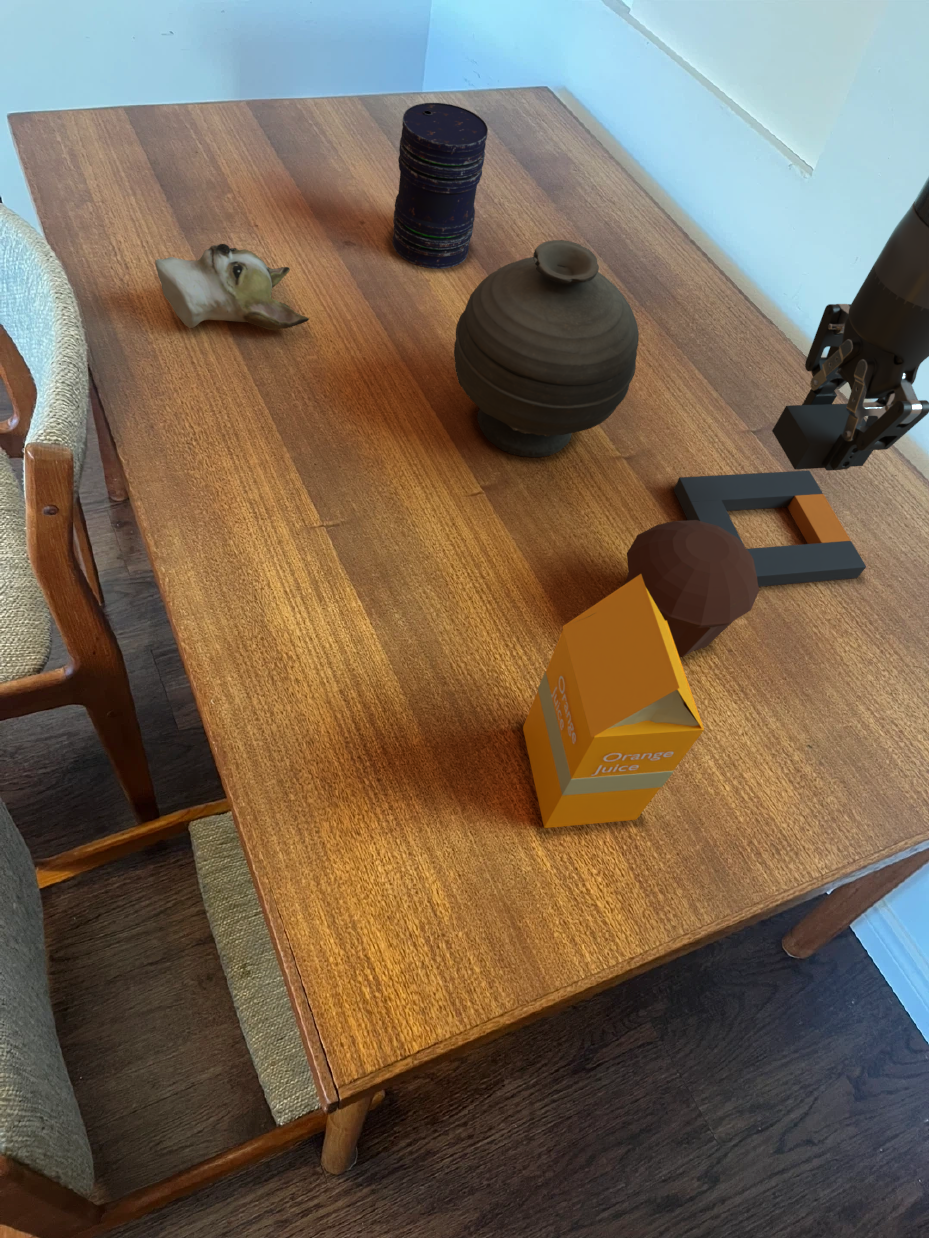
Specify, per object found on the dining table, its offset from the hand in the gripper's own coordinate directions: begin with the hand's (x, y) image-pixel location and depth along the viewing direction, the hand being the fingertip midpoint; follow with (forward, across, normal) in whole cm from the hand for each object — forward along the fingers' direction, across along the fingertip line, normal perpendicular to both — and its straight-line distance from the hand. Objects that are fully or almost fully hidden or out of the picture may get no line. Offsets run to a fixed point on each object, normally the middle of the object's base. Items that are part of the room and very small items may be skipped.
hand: (819, 444), depth 79 cm
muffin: (+12, -9, +14) cm, 21 cm away
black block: (0, 0, 0) cm, 0 cm away
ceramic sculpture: (+12, +36, +50) cm, 63 cm away
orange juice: (+12, -23, +27) cm, 38 cm away
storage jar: (+12, +50, +25) cm, 57 cm away
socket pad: (+12, 0, 0) cm, 12 cm away
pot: (+12, +17, +21) cm, 30 cm away
